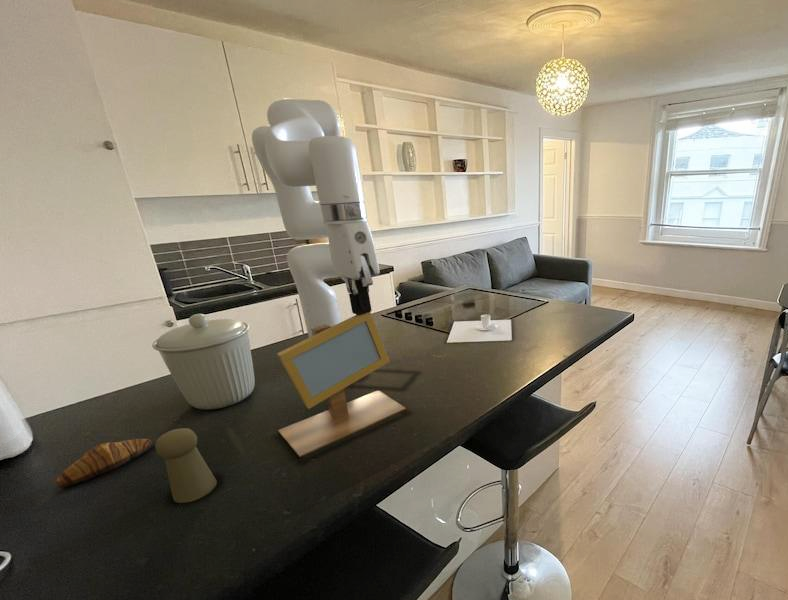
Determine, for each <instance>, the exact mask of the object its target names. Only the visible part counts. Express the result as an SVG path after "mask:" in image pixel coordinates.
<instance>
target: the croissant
mask: <svg viewBox="0 0 788 600" xmlns="http://www.w3.org/2000/svg"><path fill="white" fill-rule="evenodd" d="M152 447H153V442H152V440H151V439H150V438H133V439H126V440H121V441H117V442H105V443H100V444H98V445H96V446H94V447H93V448H90V449H89V450H87V451H85V453H84V454H83V455H82V456H81V457H80V458H79V459H77V460H75V461H74V462H73V463H72V464H71V465H69V466H68V467H67V468H65V469H64V470H63V471H62V472H61V473H60V475H58V477H57V478H56V486H58V487H59V488H61V489H64V488H68V487H71V486H75V485H78V484H82V483H83V482H86V481H89V480H91V479H94V478H96V477H99V476H101V475H103V474H107V473H109V472H111V471H113V470H116V469H118V468H119V467H121V466H123V465H125V464H127V463H128V462H130V461H132V460H134V459H136V458H137V457H140V456H141V455H143V454H144V453H146V452H147V451H149V450H150V449H151V448H152Z"/></svg>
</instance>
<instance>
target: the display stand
mask: <svg viewBox="0 0 788 600" xmlns="http://www.w3.org/2000/svg"><path fill="white" fill-rule="evenodd" d="M328 328H330V326H329V325H327V324H325V325H321V326H317V327H314V328H311V331H312V335H313V336H314V335H316V334H318V333H320V332H322V331H324V330H326V329H328ZM326 400H327V406H328V410H325V411H323V412H320V413H318V414H315V415H312V416H309V417H308V418H305V419H302V420H300V421H297V422H294V423H292V424H290V425H287V426H285V427H282V428H280V429H278V430H277V432H278V434H279V435H280V436H281V437H282V438H283V439H284V441H285V442H286V443H287V445H289V446H290V448H291V449H292V450H293V451H294V452H295V454H296V455H297V456H298V458H302V457H305V456H307V455H308V454H311V453H313V452H315V451H318V450H319V449H323V448H324V447H327V446H329V445H331V444H333V443H335V442H338V441H340V440H342V439H344V438H347V437H349V436H351V435H353V434H356V433H357V432H360V431H361V430H364V429H366V428H368V427H371V426H373V425H375V424H377V423H379V422H382V421H384V420H387V419H389V418H391V417H393V416H395V415H398V414H399V413H402V412H404V411H406V410H407V407H405V406H404V405H402V404H400V403H399V402H397V401H396V400H395V399H393V398H391V397H390V396H388V395H387V394H385V393H384V392H382V391H380V390H376V391H373V392H370V393H368V394H365V395H363V396H360V397H358V398H354V399H352V400H350V401H348V402H347V399H346V394H345V388H344V389H342V390H340V391H339V392H337V393H335V394H334V395H332V396H330V397H328V398H327V399H326Z"/></svg>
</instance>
